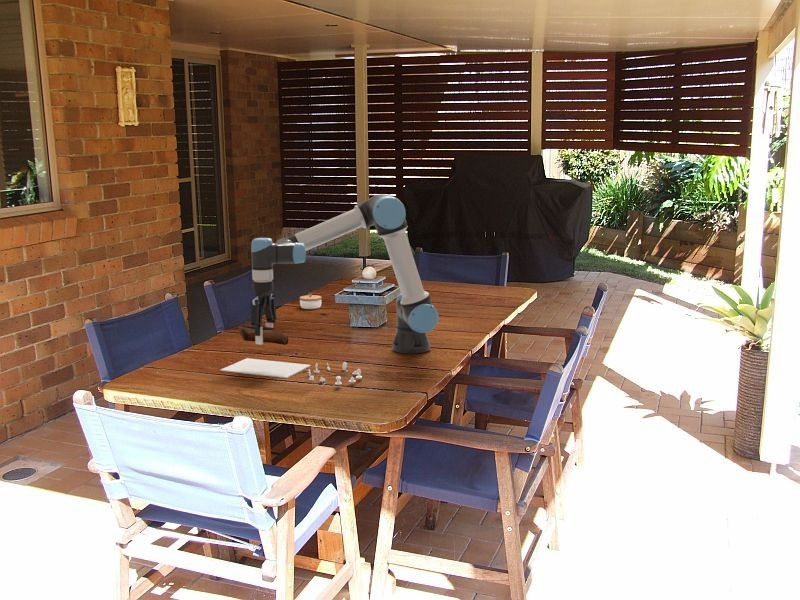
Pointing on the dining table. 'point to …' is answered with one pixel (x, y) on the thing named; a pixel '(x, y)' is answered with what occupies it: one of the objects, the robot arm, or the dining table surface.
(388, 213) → the robot arm
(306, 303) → the lidded jar
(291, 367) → the rubber mat
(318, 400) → the dining table surface
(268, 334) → the sunglasses case
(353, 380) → the game piece set
